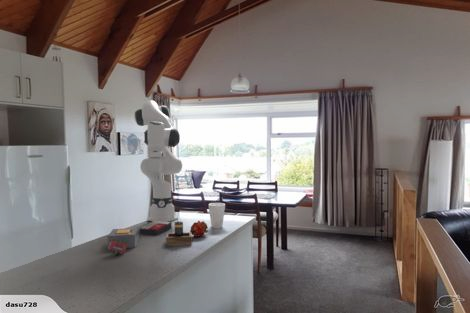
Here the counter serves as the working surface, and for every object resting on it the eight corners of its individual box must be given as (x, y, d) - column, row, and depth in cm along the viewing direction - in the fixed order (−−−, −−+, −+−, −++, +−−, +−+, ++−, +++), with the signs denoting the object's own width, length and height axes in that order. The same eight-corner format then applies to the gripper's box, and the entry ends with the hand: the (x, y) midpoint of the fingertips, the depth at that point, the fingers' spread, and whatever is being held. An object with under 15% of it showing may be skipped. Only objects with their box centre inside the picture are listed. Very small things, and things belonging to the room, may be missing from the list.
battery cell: (174, 239, 168) (174, 220, 167) (183, 239, 168) (183, 219, 168) (174, 242, 164) (174, 222, 163) (183, 242, 164) (182, 221, 164)
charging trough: (166, 241, 169) (166, 233, 169) (191, 240, 171) (191, 232, 170) (165, 246, 161) (165, 237, 161) (191, 244, 163) (191, 236, 163)
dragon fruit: (206, 236, 183) (194, 245, 173) (194, 225, 185) (182, 234, 175) (213, 225, 180) (202, 234, 169) (201, 214, 182) (189, 222, 171)
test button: (118, 235, 167) (118, 229, 166) (131, 235, 168) (131, 229, 167) (115, 239, 161) (115, 232, 161) (129, 238, 162) (129, 232, 161)
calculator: (139, 227, 183) (154, 219, 197) (139, 235, 183) (155, 227, 197) (157, 229, 179) (171, 221, 193) (157, 237, 180) (171, 228, 194)
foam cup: (206, 225, 199) (206, 203, 198) (221, 224, 203) (221, 202, 202) (212, 229, 190) (212, 206, 190) (227, 227, 194) (227, 205, 194)
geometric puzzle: (130, 245, 155) (119, 232, 153) (130, 250, 149) (118, 236, 147) (117, 256, 154) (105, 243, 152) (117, 261, 147) (104, 248, 145)
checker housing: (113, 241, 169) (113, 228, 169) (138, 240, 171) (138, 227, 171) (108, 248, 158) (107, 235, 157) (135, 247, 159) (134, 233, 159)
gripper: (152, 152, 184) (152, 178, 185) (147, 154, 164) (148, 183, 164) (164, 152, 185) (164, 178, 185) (161, 154, 165) (161, 182, 165)
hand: (156, 180), depth 175 cm, fingers open, 8 cm apart
